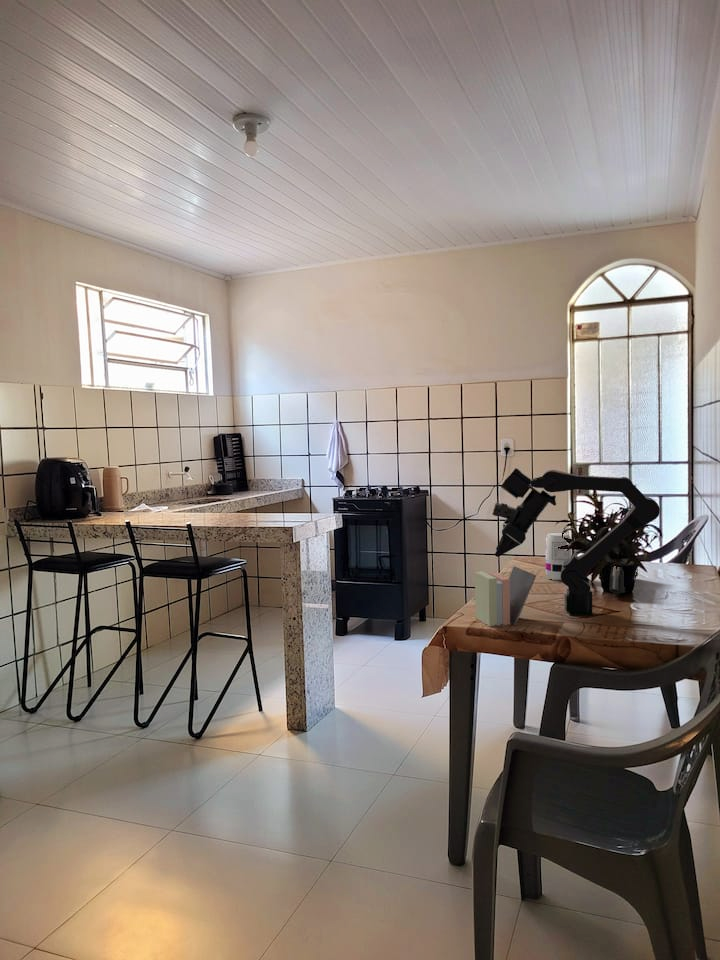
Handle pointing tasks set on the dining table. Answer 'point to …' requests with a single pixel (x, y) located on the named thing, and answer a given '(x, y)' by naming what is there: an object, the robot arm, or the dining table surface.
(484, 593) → the book row
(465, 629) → the dining table surface
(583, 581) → the robot arm
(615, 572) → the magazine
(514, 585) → the bookend
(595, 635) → the dining table surface
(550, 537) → the supplement can
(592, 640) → the dining table surface
